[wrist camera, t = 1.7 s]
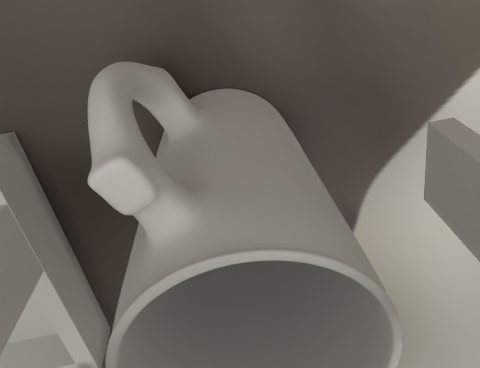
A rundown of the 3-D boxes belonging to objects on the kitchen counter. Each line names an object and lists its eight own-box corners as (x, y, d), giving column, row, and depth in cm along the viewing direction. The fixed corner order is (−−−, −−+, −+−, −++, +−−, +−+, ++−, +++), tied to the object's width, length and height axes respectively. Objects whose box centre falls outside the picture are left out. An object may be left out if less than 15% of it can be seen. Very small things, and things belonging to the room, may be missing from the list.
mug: (318, 167, 21) (442, 384, 10) (208, 231, 22) (217, 481, 12) (206, -22, 16) (221, 21, 6) (74, 72, 17) (-111, 250, 7)
